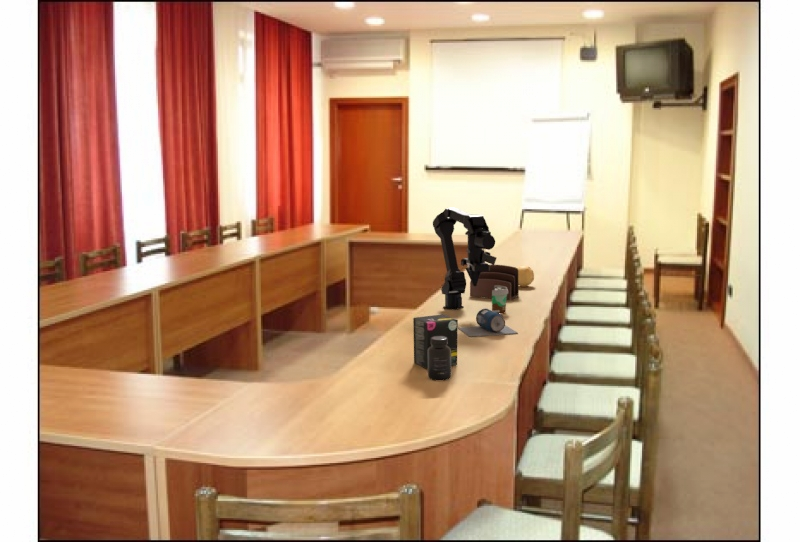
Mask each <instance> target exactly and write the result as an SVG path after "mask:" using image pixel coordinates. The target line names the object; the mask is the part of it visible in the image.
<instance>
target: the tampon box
mask: <svg viewBox="0 0 800 542" xmlns="http://www.w3.org/2000/svg"><path fill="white" fill-rule="evenodd" d="M412 319H413V321H412V322H413V364H416V365H417V366H420V367H422V368H423V369H425V370H427V371H428V348H429V347H430V346H432V345H431V337H433V336H445V337H447V342H448V344H447V346H449V347H450V349H451V367H455V366H456V365H457V366H458V330H459V329H458V319H456V318H453V317H451V316H449V315H445V314H435V315H425V316H417V317H413V318H412Z"/></svg>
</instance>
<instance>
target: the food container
mask: <svg viewBox="0 0 800 542" xmlns="http://www.w3.org/2000/svg"><path fill="white" fill-rule="evenodd" d="M507 294H508V289H507V287H504V286H497V285H494V289H493V290H492V298H491V311H494V312H496V313H498V314H499V313H503V314H505V313H506V309H507V300H506V297H507ZM504 312H505V313H504Z"/></svg>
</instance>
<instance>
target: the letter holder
mask: <svg viewBox="0 0 800 542" xmlns="http://www.w3.org/2000/svg"><path fill="white" fill-rule="evenodd" d="M488 265H489V266H490V271H482V272H481V273H480V276H479V279H478V282H477V286H473V284H472V282H471V280H470V281H469V297H470V296H476V297H475V298H481V297H485V298H484V299H492V290H493V289H494V285H497V286H504V287H507V289H508V294H507V297H506V301H512V300H514V299H516V298H518V297H519V295H520V294H519V287H520V285H519V280H518V276H519V273H518V267H515V266H511V265H505V264H494V265H492V264H488Z"/></svg>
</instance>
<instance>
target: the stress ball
mask: <svg viewBox="0 0 800 542" xmlns="http://www.w3.org/2000/svg"><path fill="white" fill-rule="evenodd" d="M517 268H518V273H519V276H518V280H519V287H522V288H525V287H528V286H529V285H531V284H532V283H533V282H534V279H535V273H534V270H533V269H532V268H531V267H529V266H527V265H520V266H518V267H517Z"/></svg>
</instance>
